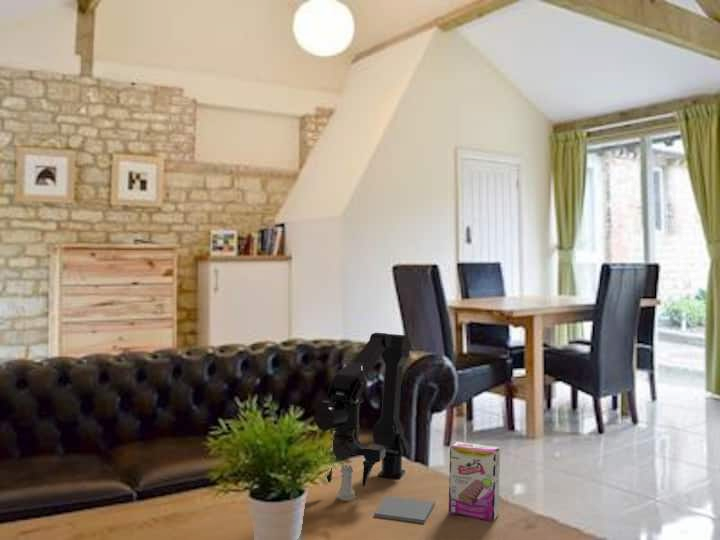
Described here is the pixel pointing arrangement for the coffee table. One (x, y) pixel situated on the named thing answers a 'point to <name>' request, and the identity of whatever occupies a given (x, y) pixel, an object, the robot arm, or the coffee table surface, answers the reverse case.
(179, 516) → the coffee table surface
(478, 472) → the candy bar box
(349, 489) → the rook chess piece
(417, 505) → the gray mat
